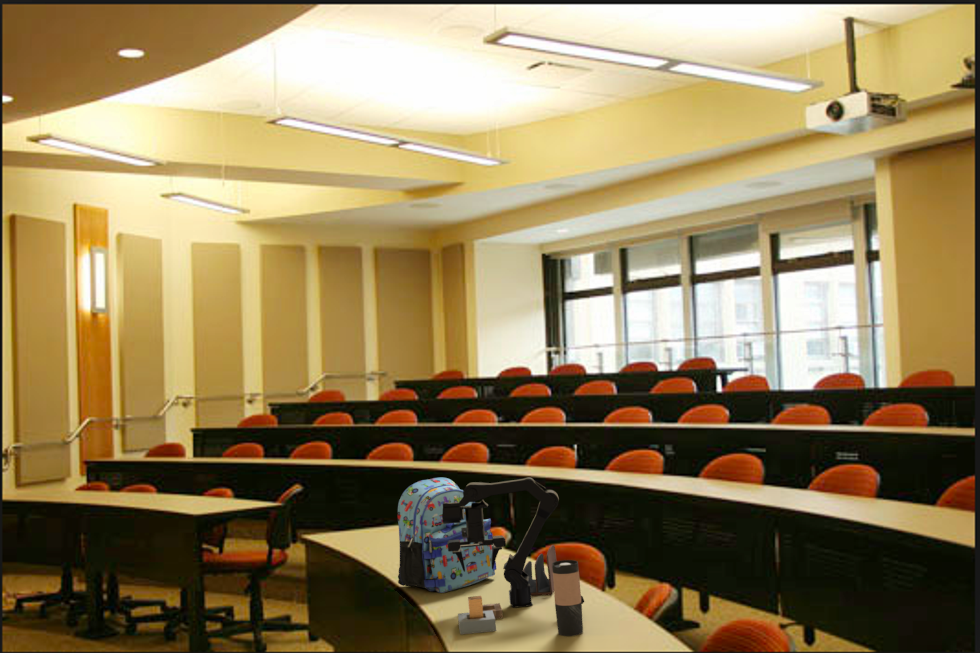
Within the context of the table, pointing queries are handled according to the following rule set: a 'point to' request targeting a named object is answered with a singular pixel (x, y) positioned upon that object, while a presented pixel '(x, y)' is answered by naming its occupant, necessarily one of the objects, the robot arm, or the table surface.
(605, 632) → the table surface
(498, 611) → the mount
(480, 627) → the socket
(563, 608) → the travel mug
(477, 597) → the peg
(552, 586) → the letter holder
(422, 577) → the backpack
